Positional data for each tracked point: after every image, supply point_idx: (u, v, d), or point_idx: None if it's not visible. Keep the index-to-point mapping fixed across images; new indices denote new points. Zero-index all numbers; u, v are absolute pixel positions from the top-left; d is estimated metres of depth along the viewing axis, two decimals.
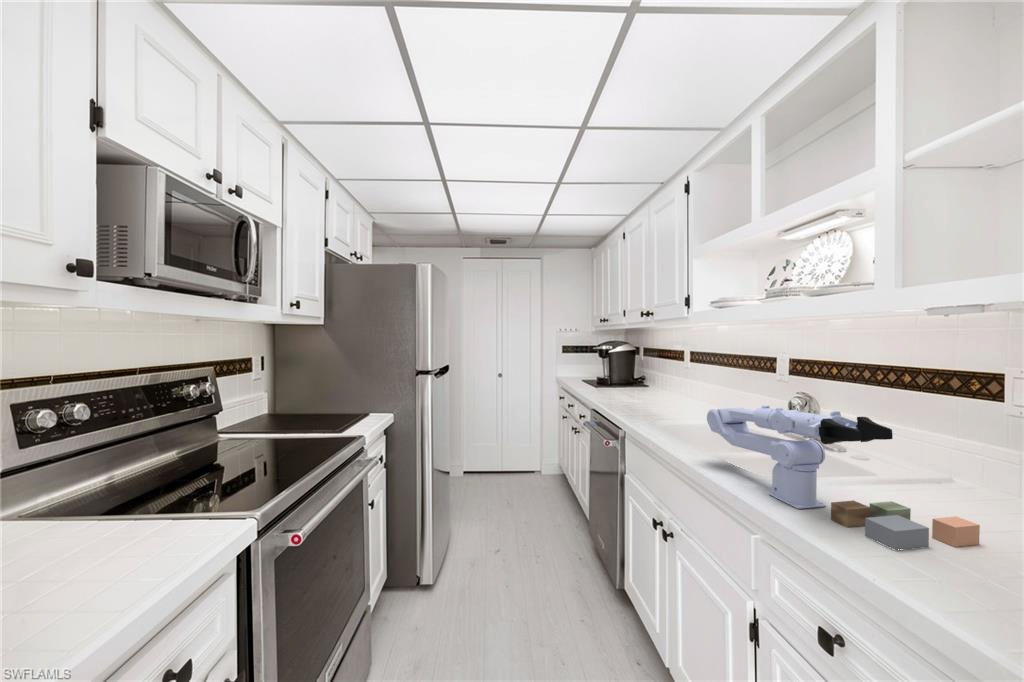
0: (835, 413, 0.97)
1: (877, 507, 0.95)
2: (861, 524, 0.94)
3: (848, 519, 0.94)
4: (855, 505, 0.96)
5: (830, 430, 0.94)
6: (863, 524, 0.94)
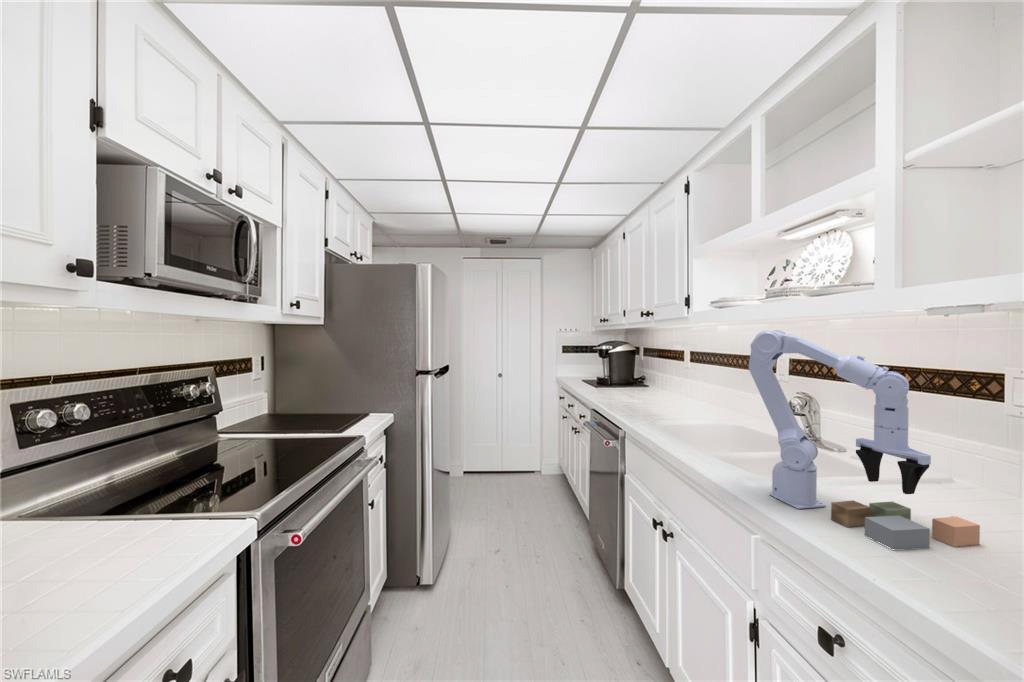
0: None
1: (877, 507, 0.95)
2: (861, 524, 0.94)
3: (849, 519, 0.94)
4: (855, 505, 0.96)
5: None
6: (863, 524, 0.94)
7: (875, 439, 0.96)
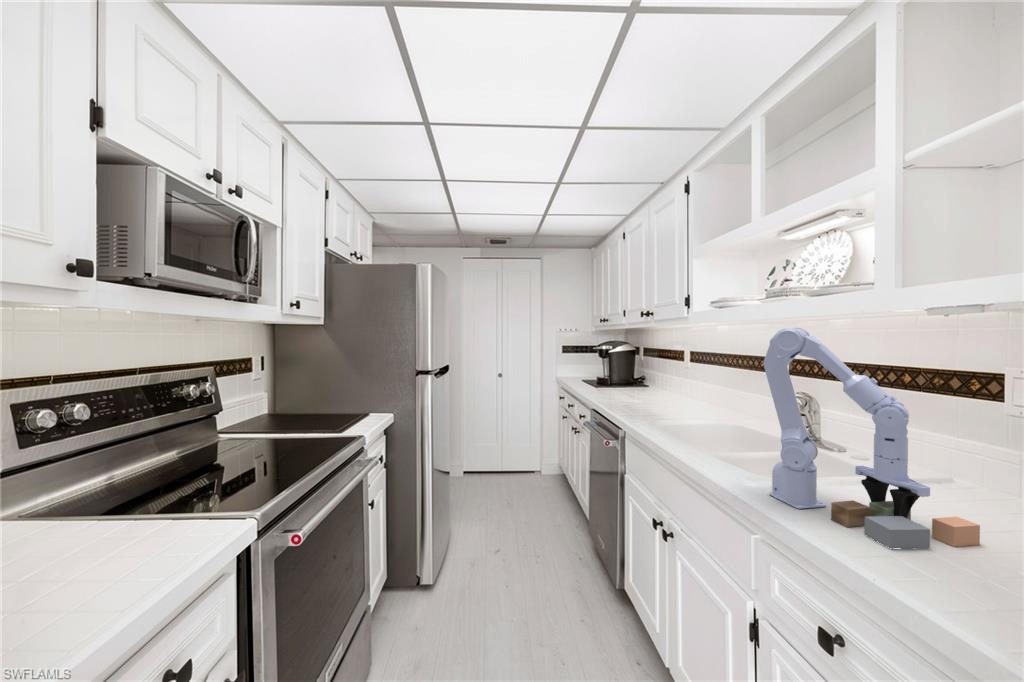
0: None
1: (877, 506, 0.95)
2: (861, 524, 0.94)
3: (849, 519, 0.94)
4: (855, 505, 0.96)
5: None
6: (863, 524, 0.94)
7: (875, 468, 0.96)
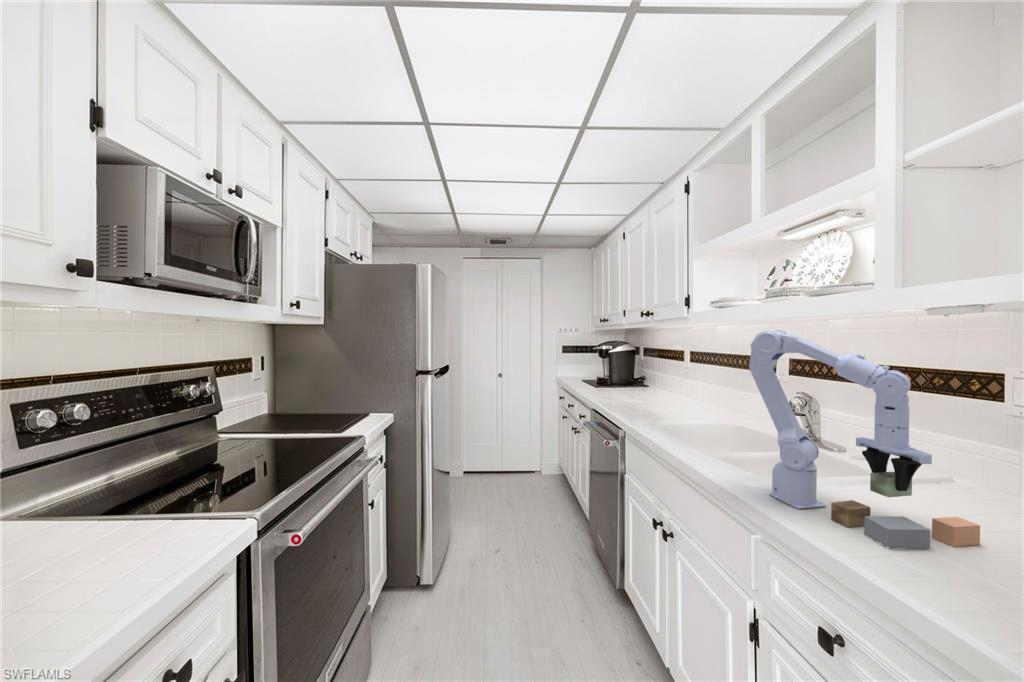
0: None
1: (878, 476, 0.94)
2: (861, 524, 0.94)
3: (849, 519, 0.94)
4: (855, 504, 0.96)
5: None
6: (863, 524, 0.95)
7: (876, 438, 0.95)
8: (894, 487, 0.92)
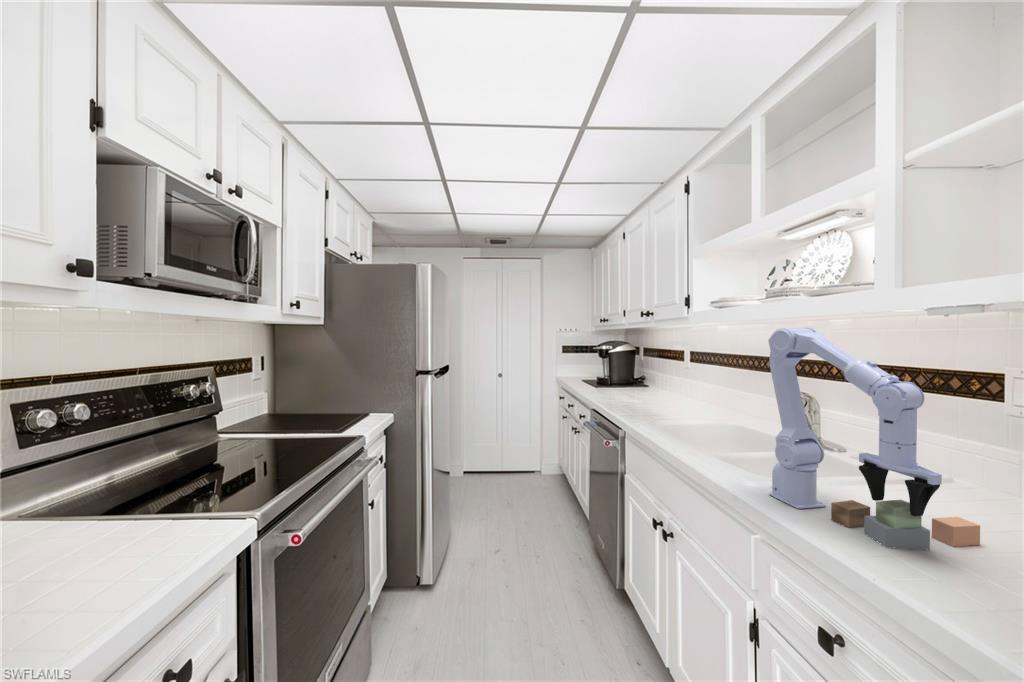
0: None
1: (884, 506, 0.87)
2: (861, 524, 0.94)
3: (850, 519, 0.94)
4: (855, 504, 0.96)
5: None
6: (863, 524, 0.95)
7: (880, 455, 0.88)
8: (902, 518, 0.85)
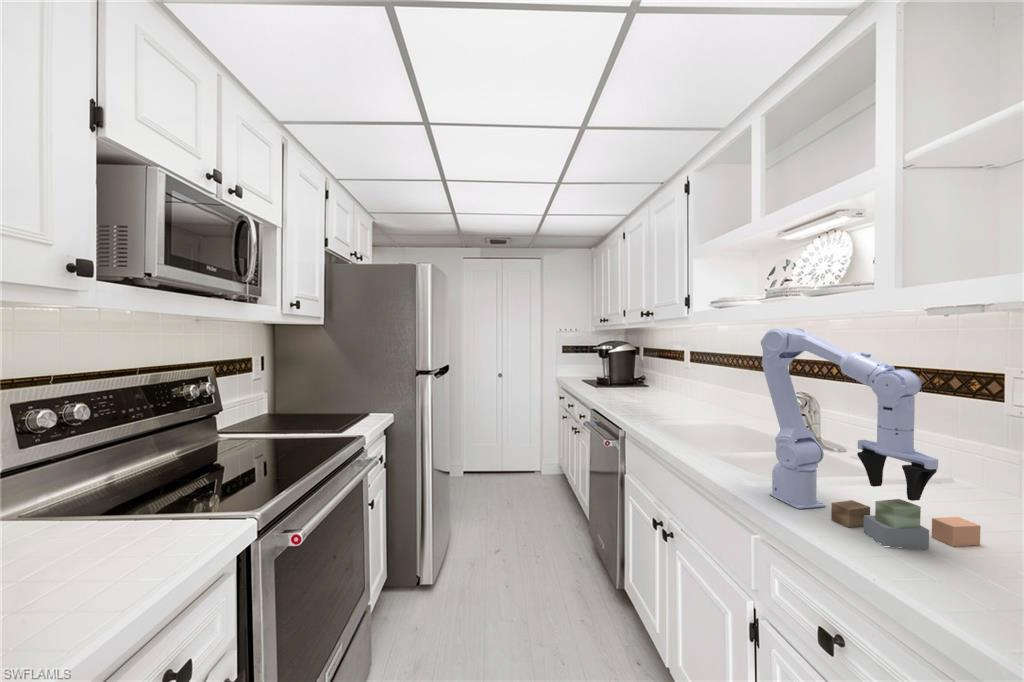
0: None
1: (884, 505, 0.87)
2: (861, 524, 0.94)
3: (850, 519, 0.94)
4: (855, 504, 0.96)
5: None
6: (863, 524, 0.95)
7: (878, 441, 0.89)
8: (902, 517, 0.85)
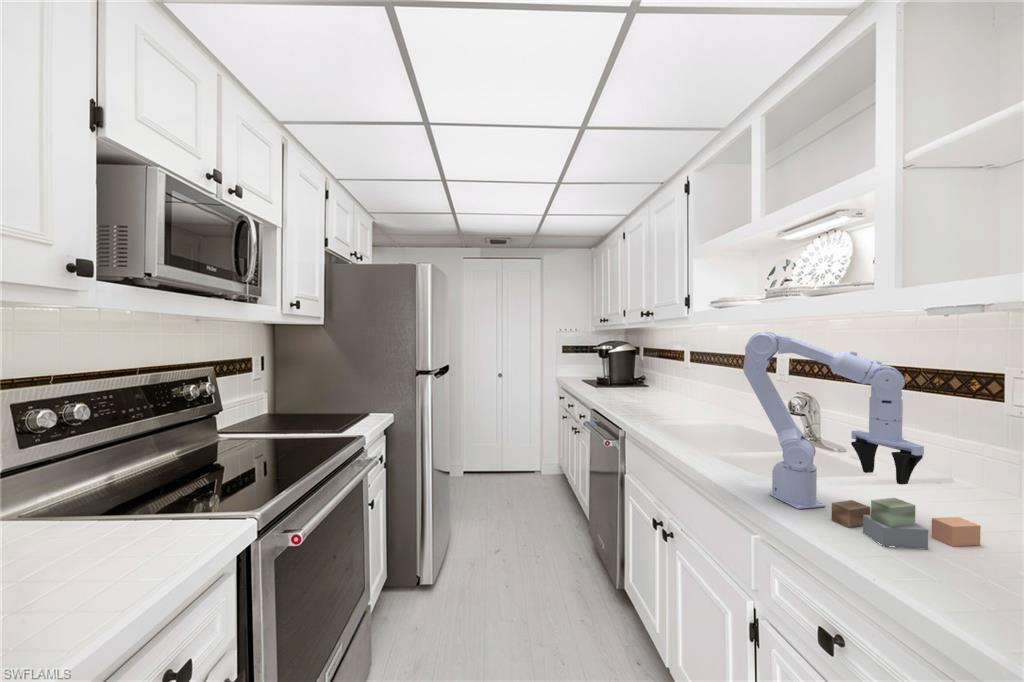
0: None
1: (880, 504, 0.87)
2: (861, 524, 0.94)
3: (850, 519, 0.94)
4: (855, 504, 0.96)
5: None
6: None
7: (870, 431, 0.98)
8: (897, 516, 0.86)
